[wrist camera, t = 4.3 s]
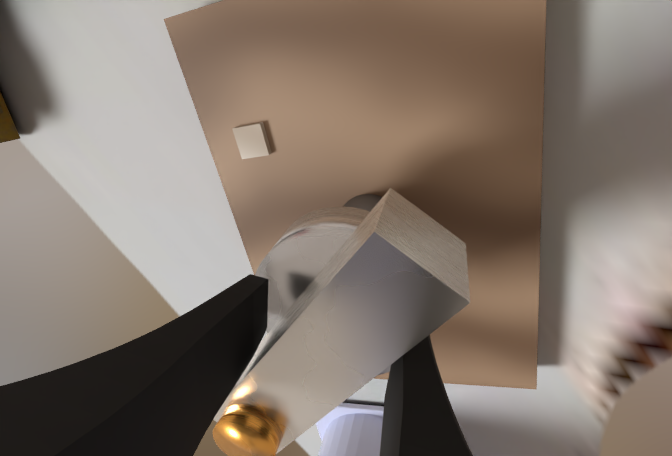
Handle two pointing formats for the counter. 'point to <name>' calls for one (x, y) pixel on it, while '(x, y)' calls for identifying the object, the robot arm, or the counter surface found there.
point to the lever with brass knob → (340, 315)
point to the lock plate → (388, 138)
